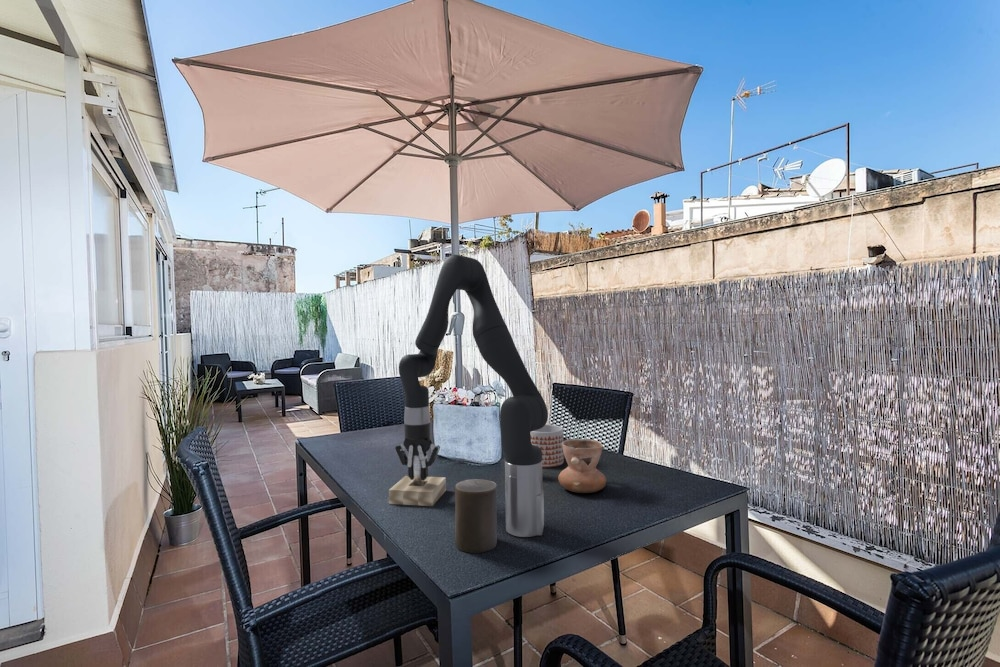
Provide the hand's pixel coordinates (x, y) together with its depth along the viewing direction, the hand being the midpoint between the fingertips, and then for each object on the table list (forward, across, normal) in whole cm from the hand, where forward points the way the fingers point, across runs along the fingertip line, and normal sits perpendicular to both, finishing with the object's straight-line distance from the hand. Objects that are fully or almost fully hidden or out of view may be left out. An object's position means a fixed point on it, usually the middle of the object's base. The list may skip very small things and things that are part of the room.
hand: (418, 478), depth 142 cm
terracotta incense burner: (+5, -48, -14) cm, 50 cm away
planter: (+6, -34, -40) cm, 53 cm away
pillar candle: (+5, -24, +27) cm, 37 cm away
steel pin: (+3, 0, 0) cm, 3 cm away
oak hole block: (+5, 0, 0) cm, 5 cm away
